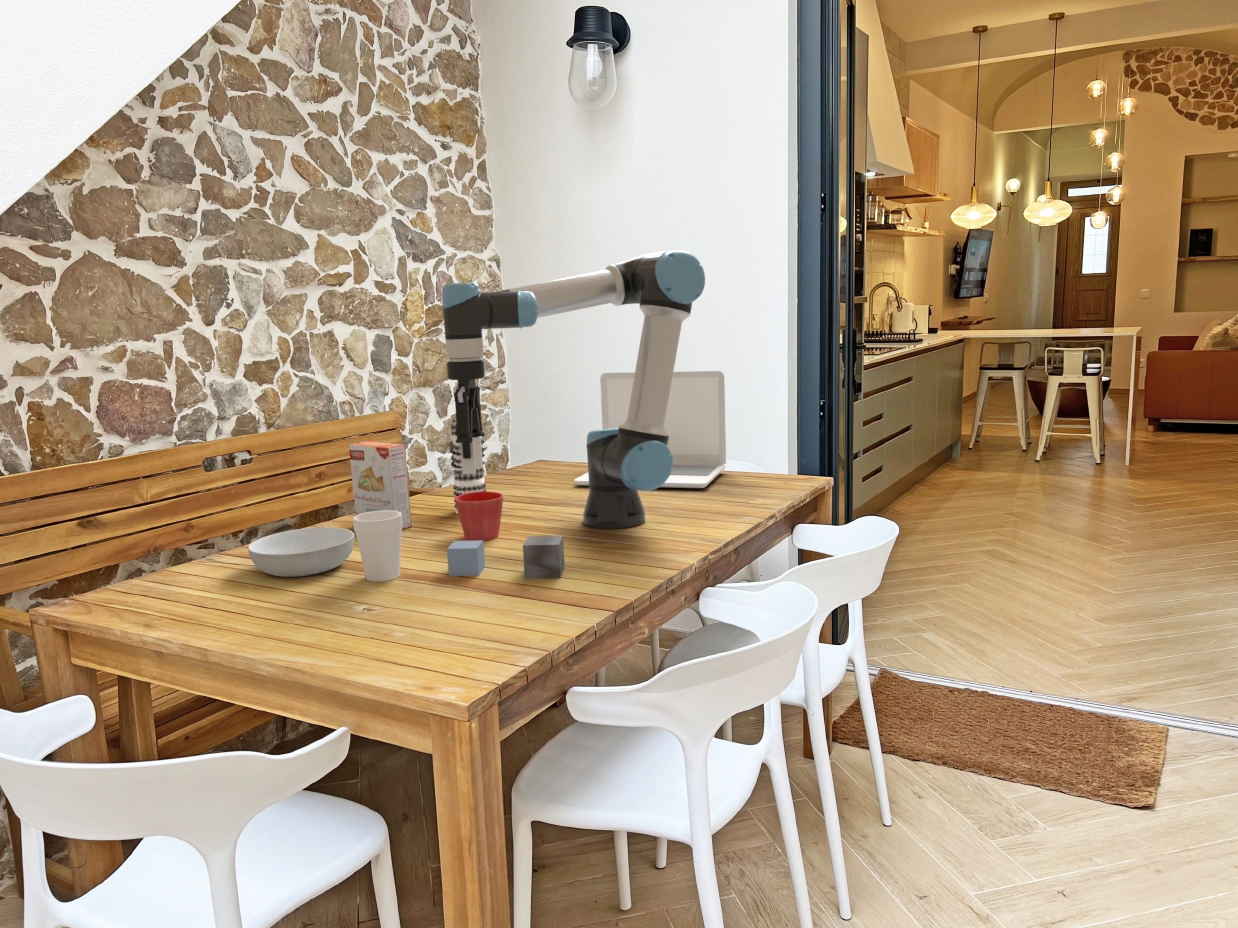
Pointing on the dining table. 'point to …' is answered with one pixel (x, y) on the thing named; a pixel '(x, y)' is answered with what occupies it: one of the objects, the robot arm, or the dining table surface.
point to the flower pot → (480, 514)
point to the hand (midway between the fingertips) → (472, 470)
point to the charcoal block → (543, 557)
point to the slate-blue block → (466, 558)
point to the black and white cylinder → (461, 481)
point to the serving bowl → (302, 551)
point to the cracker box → (380, 478)
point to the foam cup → (379, 543)
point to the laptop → (678, 423)
